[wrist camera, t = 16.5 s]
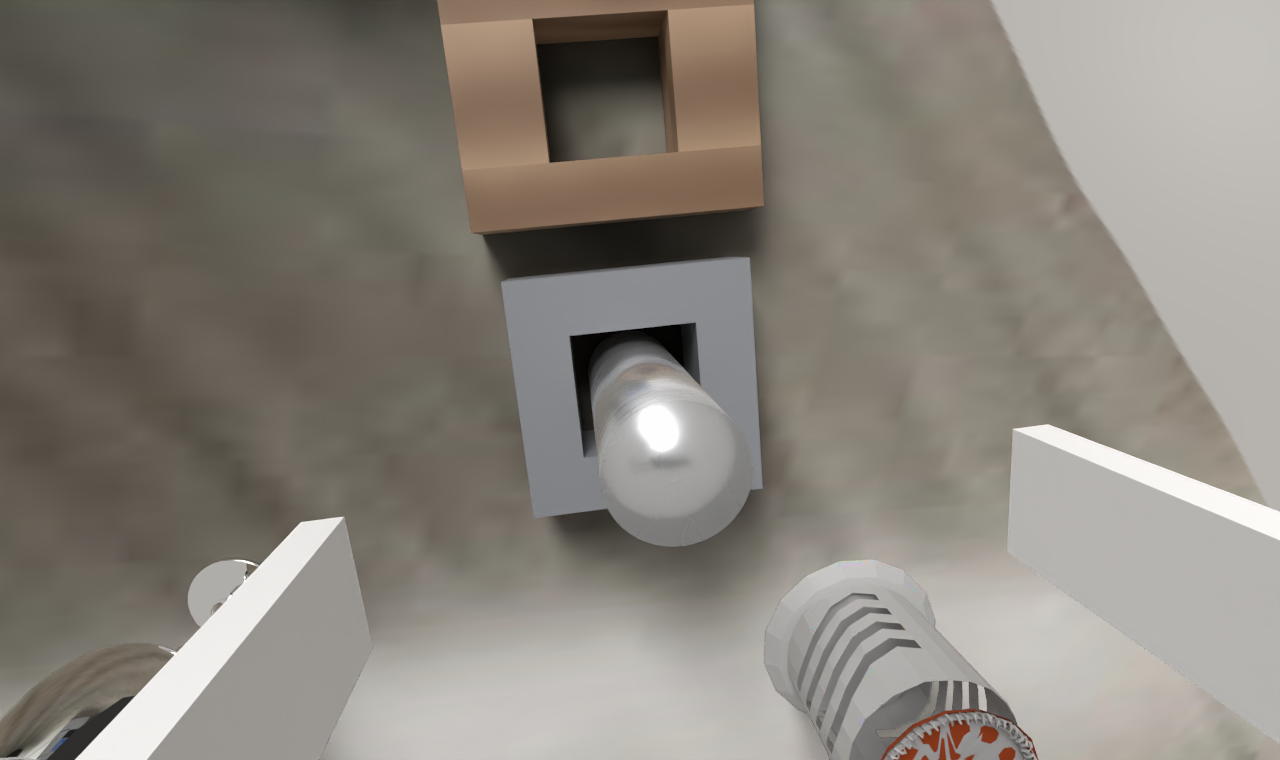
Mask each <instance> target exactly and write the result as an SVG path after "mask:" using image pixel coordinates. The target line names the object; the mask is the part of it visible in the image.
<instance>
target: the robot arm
mask: <svg viewBox="0 0 1280 760" xmlns="http://www.w3.org/2000/svg"><path fill="white" fill-rule="evenodd" d="M1007 553H1009V554H1010V555H1012V556H1013V557H1015V558H1016V559H1017V560H1019V561H1020V562H1022V563H1023V564H1025V565H1026V566H1027V567H1029V568H1030V569H1032V570H1033V571H1035V572H1036V573H1037V574H1039V575H1040V576H1042V577H1043V578H1044V579H1046V580H1047V581H1049V582H1050V583H1052V584H1053V585H1054V586H1056V587H1057V588H1059V589H1060V590H1062V591H1063V592H1064V593H1066V594H1067V595H1069V596H1070V597H1072V598H1073V599H1074V600H1076V601H1077V602H1079V603H1080V604H1081V605H1083V606H1084V607H1086V608H1087V609H1089V610H1090V611H1091V612H1093V613H1094V614H1096V615H1097V616H1099V617H1100V618H1101V619H1103V620H1104V621H1106V622H1107V623H1109V624H1110V625H1111V626H1113V627H1114V628H1116V629H1117V630H1118V631H1120V632H1121V633H1123V634H1124V635H1126V636H1127V637H1128V638H1130V639H1131V640H1133V641H1134V642H1136V643H1137V644H1138V645H1140V646H1141V647H1143V648H1144V649H1146V650H1147V651H1148V652H1150V653H1151V654H1153V655H1154V656H1155V657H1157V658H1158V659H1160V660H1161V661H1163V662H1164V663H1165V664H1167V665H1168V666H1170V667H1171V668H1173V669H1174V670H1175V671H1177V672H1178V673H1180V674H1181V675H1183V676H1184V677H1185V678H1187V679H1188V680H1190V681H1191V682H1192V683H1194V684H1195V685H1197V686H1198V687H1200V688H1201V689H1202V690H1204V691H1205V692H1207V693H1208V694H1210V695H1211V696H1212V697H1214V698H1215V699H1217V700H1218V701H1220V702H1221V703H1222V704H1224V705H1225V706H1227V707H1228V708H1229V709H1231V710H1232V711H1234V712H1235V713H1237V714H1238V715H1239V716H1241V717H1242V718H1244V719H1245V720H1247V721H1248V722H1249V723H1251V724H1252V725H1254V726H1255V727H1257V728H1258V729H1259V730H1261V731H1262V732H1264V733H1265V734H1266V735H1268V736H1269V737H1271V738H1272V739H1274V740H1275V741H1276V742H1278V743H1279V744H1280V512H1279V511H1276V510H1274V509H1271V508H1268V507H1266V506H1263V505H1260V504H1258V503H1255V502H1252V501H1250V500H1247V499H1244V498H1242V497H1239V496H1236V495H1234V494H1231V493H1229V492H1226V491H1223V490H1221V489H1218V488H1215V487H1213V486H1210V485H1207V484H1205V483H1202V482H1199V481H1197V480H1194V479H1191V478H1189V477H1186V476H1183V475H1181V474H1178V473H1176V472H1173V471H1170V470H1168V469H1165V468H1162V467H1160V466H1157V465H1154V464H1152V463H1149V462H1146V461H1144V460H1141V459H1138V458H1136V457H1133V456H1130V455H1128V454H1125V453H1122V452H1120V451H1117V450H1115V449H1112V448H1109V447H1107V446H1104V445H1101V444H1099V443H1096V442H1093V441H1091V440H1088V439H1085V438H1083V437H1080V436H1077V435H1075V434H1072V433H1069V432H1067V431H1064V430H1062V429H1059V428H1056V427H1054V426H1051V425H1040V426H1032V427H1025V428H1017V429H1013V440H1012V462H1011V484H1010V505H1009V527H1008V549H1007ZM372 648H373V646H372V642H371V637H370V632H369V628H368V623H367V619H366V614H365V609H364V605H363V600H362V596H361V591H360V586H359V582H358V577H357V572H356V568H355V563H354V559H353V554H352V549H351V545H350V540H349V536H348V531H347V526H346V522H345V517H337V518H329V519H322V520H314V521H306V522H301V523H300V524H299V525H298V526H297V527H296V528H295V529H294V530H293V531H292V532H291V533H290V534H289V535H288V536H287V537H286V538H285V540H284V541H283V542H282V543H281V544H280V545H279V546H278V547H277V548H276V549H275V550H274V551H273V552H272V553H271V554H270V555H269V556H268V557H267V558H266V560H265V561H264V562H263V563H262V564H261V565H260V566H259V567H258V568H257V569H256V570H255V571H254V572H253V573H252V574H251V575H250V576H249V577H248V578H247V579H246V581H245V582H244V583H243V584H242V585H241V586H240V587H239V588H238V589H237V590H236V591H235V592H234V593H233V594H232V595H231V596H230V597H229V598H228V599H227V601H226V602H225V603H224V604H223V605H222V606H221V607H220V608H219V609H218V610H217V611H216V612H215V613H214V614H213V615H212V616H211V617H210V618H209V619H208V620H207V622H206V623H205V624H204V625H203V626H202V627H201V628H200V629H199V630H198V631H197V632H196V633H195V634H194V635H193V636H192V637H191V638H190V639H189V640H188V641H187V643H186V644H185V645H184V646H183V647H182V648H181V649H180V650H179V651H178V652H177V653H176V654H175V655H174V656H173V657H172V658H171V659H170V660H169V661H168V663H167V664H166V665H165V666H164V667H163V668H162V669H161V670H160V671H159V672H158V673H157V674H156V675H155V676H154V677H153V678H152V679H151V680H150V681H149V682H148V684H147V685H146V686H145V687H144V688H143V689H142V690H141V691H140V692H139V693H138V694H137V695H135V696H129V697H123V698H122V699H120V700H119V701H117V702H116V703H114V704H113V705H111V706H110V707H109V708H107V709H106V710H104V711H103V712H101V713H100V714H98V715H97V716H96V717H94V718H93V719H91V720H90V721H88V722H87V723H85V724H84V725H83V726H81V727H80V728H78V729H77V730H76V731H75V732H74V733H73V734H72V735H71V736H70V737H69V738H68V739H67V740H66V741H64V742H63V743H62V744H61V745H60V746H59V747H58V748H57V749H56V750H55V751H54V752H53V753H52V754H51V755H50V756H49V757H48V758H47V759H46V760H319V759H320V757H321V755H322V753H323V751H324V749H325V746H326V744H327V742H328V740H329V738H330V736H331V734H332V732H333V730H334V728H335V726H336V724H337V721H338V719H339V717H340V715H341V713H342V711H343V709H344V707H345V705H346V703H347V701H348V698H349V696H350V694H351V692H352V690H353V688H354V686H355V684H356V682H357V680H358V678H359V676H360V673H361V671H362V669H363V667H364V665H365V663H366V661H367V659H368V657H369V655H370V653H371V650H372Z"/></svg>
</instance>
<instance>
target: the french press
mask: <svg viewBox="0 0 1280 760" xmlns="http://www.w3.org/2000/svg"><path fill="white" fill-rule="evenodd" d="M764 664H765V666H766V669H767V671H768V673H769V676H770V678H771V680H772V683H773V685H774V687H775V690H776V691H777V692H778V693H779V694H781V695H782V696H783V697H784V698H785V699H786V700H787V701H789V702H790V703H791V704H792V705H793V706H794V707H795V708H797V709H798V710H800V711H803V712H807V713H808V714H809V716H810V718H811V720H812V722H813V724H814V726H815V728H816V730H817V732H818V734H819V736H820V739H821V741H822V743H823V745H824V747H825V749H826V751H827V753H828V755H829V757H830V759H829V760H1038V757H1037V754H1036V751H1035V748H1034V745H1033V742H1032V739H1031V738H1030V737H1029V736H1028V735H1027V734H1026V733H1024V732H1023V731H1022V730H1021V729H1020V728H1019V727H1018V725H1017V722H1016V719H1015V717H1014V715H1013V713H1012V711H1011V709H1010V707H1009V705H1008V703H1007V702H1006V701H1005V700H1004V699H1003V698H1002V697H1001V696H1000V695H999V694H998V693H997V692H996V691H995V690H994V689H993V688H992V687H991V685H990V684H989V683H988V682H987V681H986V680H985V679H984V678H983V677H982V676H981V675H980V674H979V673H978V672H977V671H976V670H975V669H974V668H973V667H972V666H971V665H970V664H969V663H968V662H967V661H966V660H965V659H964V657H963V656H962V655H961V654H960V653H959V652H958V651H957V650H956V649H955V648H954V647H953V646H952V645H951V644H950V643H949V642H948V641H947V640H946V639H945V638H944V637H943V636H942V635H941V634H940V633H939V632H938V631H937V629H936V628H935V618H934V615H933V612H932V609H931V606H930V603H929V600H928V597H927V594H926V592H925V591H924V590H923V589H922V588H921V587H920V586H919V585H918V584H917V583H916V582H915V581H914V580H913V579H912V578H911V577H910V576H909V575H908V574H907V573H906V572H905V571H904V570H902V569H899V568H896V567H894V566H891V565H888V564H885V563H882V562H880V561H877V560H874V559H873V560H854V561H839V562H837V563H834V564H832V565H830V566H827V567H825V568H823V569H821V570H818V571H816V572H814V573H811V574H809V575H807V576H805V577H804V578H803V579H802V580H801V581H800V582H799V583H798V584H797V585H796V586H795V587H794V588H793V589H792V590H791V591H790V592H789V593H788V594H786V595H785V596H784V597H783V598H782V599H781V600H780V602H779V604H778V606H777V608H776V610H775V612H774V614H773V617H772V619H771V621H770V623H769V625H768V627H767V629H766V631H765V653H764ZM948 680H953V682H954V690H953V706H952V711H945V704H946V695H947V686H948ZM932 681H939V691H938V697H937V703H936V709H935V711H934V713H933V714H932V715H931V717H929V718H927V719H925V720H922V721H920V722H918V723H915V724H913V725H912V726H911V727H910V728H908V729H907V730H906V731H905V732H904V733H903V734H902V735H901V736H900V737H879V736H878V734H877V732H876V731H875V730H883V729H895V728H898V727H901V726H903V725H906V724H909V723H911V722H914V721H916V720H917V719H918V717H919V716H920V715H921V713H922V712H923V711H924V709H925V708H926V706H927V705H928V704H929V702H930V695H931V687H932ZM962 681H967V682H969V709H964V710H962ZM977 684H978V685H981V686H983V687H984V689H985V694H986V699H987V712H985V711H982V710H979V704H978V688H977ZM818 716H820V717H823V718H824V719H823V722H822V723H821V721H820V720H819V718H818ZM831 727H832V729H833V731H834V732H835V734H836V736H837V739H836V741H835V744H834V746H833V744H832V742H831V741H830V739H829V737H828V735H829V732H830V729H831Z"/></svg>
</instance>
